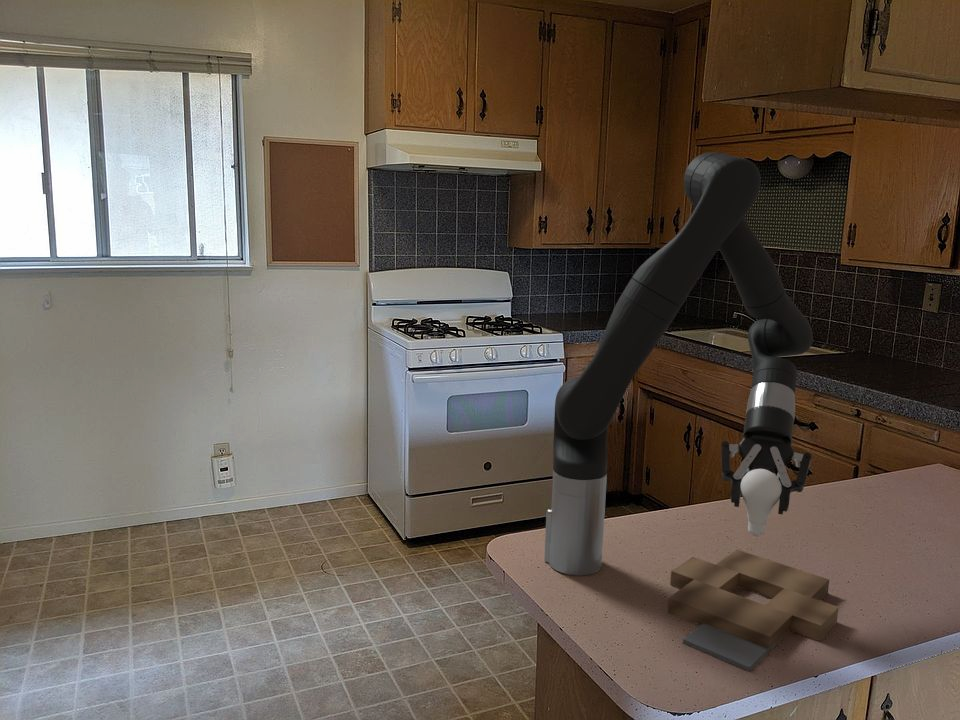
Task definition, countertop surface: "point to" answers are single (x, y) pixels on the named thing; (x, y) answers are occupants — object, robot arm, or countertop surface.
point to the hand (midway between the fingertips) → (758, 508)
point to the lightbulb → (759, 498)
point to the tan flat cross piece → (744, 618)
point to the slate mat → (726, 646)
